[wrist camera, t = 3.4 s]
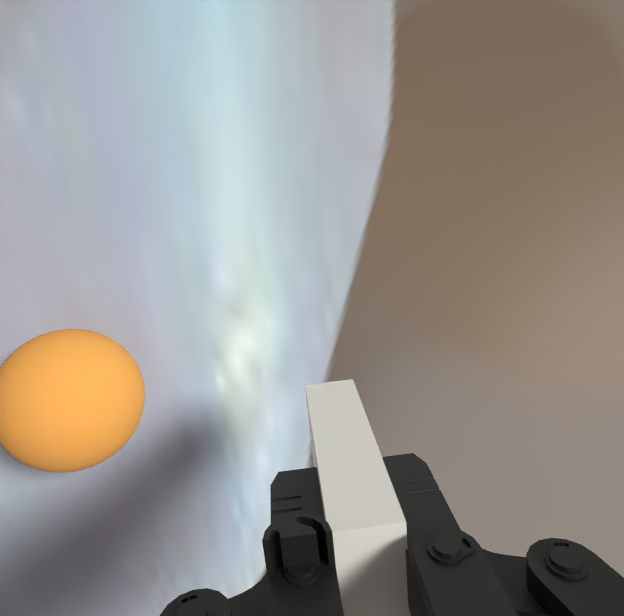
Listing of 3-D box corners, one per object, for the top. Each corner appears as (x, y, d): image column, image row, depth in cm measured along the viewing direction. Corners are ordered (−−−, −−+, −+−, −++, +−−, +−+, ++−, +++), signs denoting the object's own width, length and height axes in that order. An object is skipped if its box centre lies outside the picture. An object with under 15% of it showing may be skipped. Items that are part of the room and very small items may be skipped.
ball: (111, 448, 24) (68, 529, 19) (3, 382, 23) (-76, 450, 17) (181, 360, 23) (157, 419, 18) (73, 287, 22) (12, 327, 16)
